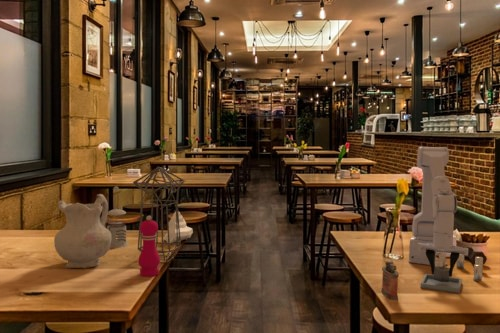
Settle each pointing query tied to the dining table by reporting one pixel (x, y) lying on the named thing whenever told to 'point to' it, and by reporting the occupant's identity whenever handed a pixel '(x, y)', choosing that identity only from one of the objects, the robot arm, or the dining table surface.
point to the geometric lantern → (162, 171)
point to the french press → (115, 227)
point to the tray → (441, 284)
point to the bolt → (474, 255)
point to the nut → (441, 274)
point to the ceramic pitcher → (83, 233)
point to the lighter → (390, 281)
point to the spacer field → (460, 264)
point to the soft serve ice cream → (184, 230)
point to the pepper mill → (149, 249)
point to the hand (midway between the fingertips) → (441, 274)
